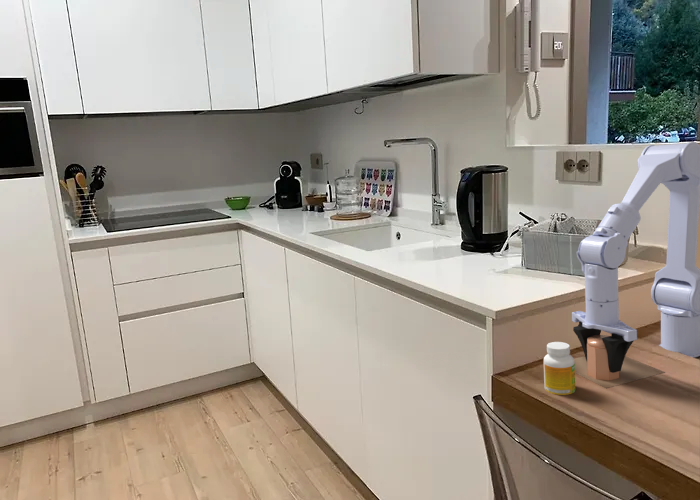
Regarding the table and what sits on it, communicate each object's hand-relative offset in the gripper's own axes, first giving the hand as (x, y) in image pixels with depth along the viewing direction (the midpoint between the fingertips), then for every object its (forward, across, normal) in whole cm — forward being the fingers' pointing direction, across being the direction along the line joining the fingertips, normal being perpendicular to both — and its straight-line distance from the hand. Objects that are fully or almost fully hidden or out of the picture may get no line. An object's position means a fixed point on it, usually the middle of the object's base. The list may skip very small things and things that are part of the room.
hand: (603, 365), depth 104 cm
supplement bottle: (+3, +1, -11) cm, 11 cm away
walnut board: (+3, -2, +3) cm, 5 cm away
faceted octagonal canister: (+2, 0, 0) cm, 2 cm away
